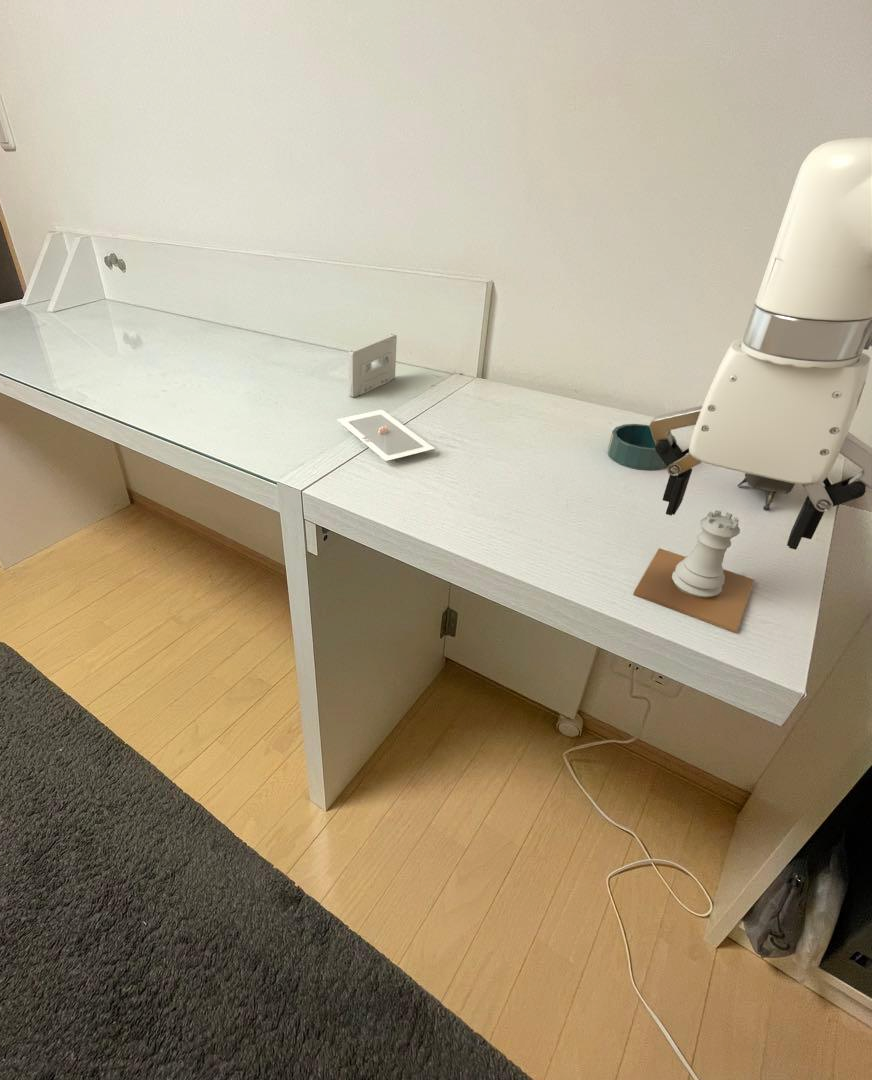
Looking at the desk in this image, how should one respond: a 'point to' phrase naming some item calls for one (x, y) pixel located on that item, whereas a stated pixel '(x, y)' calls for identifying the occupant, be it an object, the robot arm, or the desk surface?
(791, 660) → the desk surface
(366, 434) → the touchpad
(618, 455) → the teal round bowl
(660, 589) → the coaster
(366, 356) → the cassette
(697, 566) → the rook chess piece
